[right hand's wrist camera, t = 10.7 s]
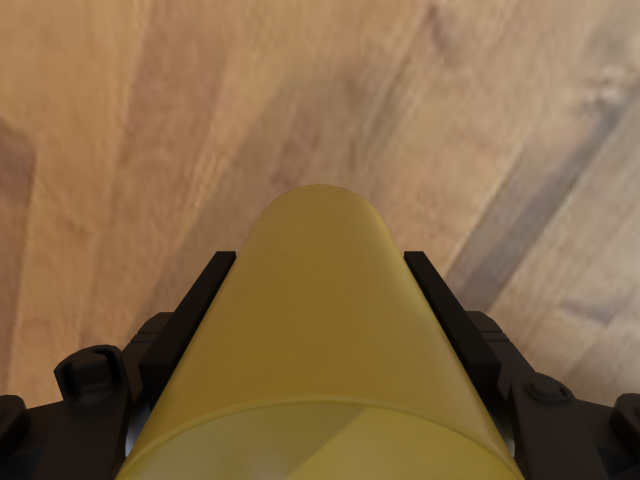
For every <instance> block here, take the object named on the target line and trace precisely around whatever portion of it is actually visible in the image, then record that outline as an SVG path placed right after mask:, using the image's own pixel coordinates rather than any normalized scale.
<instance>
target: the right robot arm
mask: <svg viewBox="0 0 640 480" xmlns="http://www.w3.org/2000/svg"><path fill="white" fill-rule="evenodd" d="M235 259H236V252H235V251H217V252H216V253H215V255H214V256H213V258H212V259H211V260H210V262H209V263H208V265H207V266H206V267H205V269H204V270H203V272H202V273H201V275H200V276H199V277H198V279H197V280H196V282H195V283H194V284H193V286H192V287H191V289H190V290H189V292H188V293H187V294H186V296H185V297H184V299H183V300H182V301H181V303H180V304H179V306H178V307H177V309H176V310H175V311H174V312H160V313H158V314H157V315H155V316H154V317H152V318H151V319H149V320H148V321H146V322H145V324H144V325H143V326H142V327H141V329H140V330H139V331H138V334H136V335H135V336H134V337H133V338H132V340H131V341H130V343H128V345H127V346H126V347H125V348H124V350H123V351H122V352H121V350H120V349H119V348H117V347H116V346H112V345H96V346H92V347H89V348H85V349H82V350H80V351H78V352H76V353H74V354H72V355H70V356H68V357H67V358H66V359H64V360H63V361H61V362H60V363H59V364H58V366H57V367H56V368H55V369H54V374H55V377H56V380H57V383H58V385H59V388H60V391H61V394H62V397H63V401H60V402H56V403H51V404H47V405H43V406H39V407H34V408H30V409H27V408H26V406H25V403H24V401H23V399H21V398H20V397H19V396H17V395H3V396H0V480H115V478H116V476H117V474H118V472H119V471H120V469H121V467H122V465H123V463H124V461H125V460H126V458H127V456H128V454H129V452H130V451H131V449H132V447H133V445H134V443H135V441H136V440H137V438H138V436H139V434H140V432H141V431H142V429H143V427H144V425H145V423H146V421H147V420H148V418H149V416H150V414H151V412H152V410H153V409H154V407H155V405H156V403H157V401H158V400H159V398H160V396H161V394H162V392H163V390H164V389H165V387H166V385H167V383H168V381H169V380H170V378H171V376H172V374H173V372H174V370H175V369H176V367H177V365H178V363H179V361H180V360H181V358H182V356H183V354H184V352H185V350H186V349H187V347H188V345H189V343H190V341H191V339H192V338H193V336H194V334H195V332H196V330H197V329H198V327H199V325H200V323H201V321H202V319H203V318H204V316H205V314H206V312H207V310H208V309H209V307H210V305H211V303H212V301H213V299H214V298H215V296H216V294H217V292H218V290H219V289H220V287H221V285H222V283H223V281H224V279H225V278H226V276H227V274H228V272H229V270H230V268H231V267H232V265H233V263H234V261H235ZM404 260H405V261H406V263H407V265H408V267H409V269H410V271H411V272H412V274H413V276H414V278H415V280H416V282H417V283H418V285H419V287H420V289H421V291H422V293H423V294H424V296H425V298H426V300H427V302H428V303H429V305H430V307H431V309H432V311H433V313H434V314H435V316H436V318H437V320H438V322H439V324H440V325H441V327H442V329H443V331H444V333H445V334H446V336H447V338H448V340H449V342H450V344H451V345H452V347H453V349H454V351H455V353H456V355H457V356H458V358H459V360H460V362H461V364H462V365H463V367H464V369H465V371H466V373H467V375H468V376H469V378H470V380H471V382H472V384H473V386H474V387H475V389H476V391H477V393H478V395H479V397H480V398H481V400H482V402H483V404H484V406H485V407H486V409H487V411H488V413H489V415H490V417H491V418H492V420H493V422H494V424H495V426H496V428H497V429H498V431H499V433H500V435H501V437H502V438H503V440H504V442H505V444H506V446H507V448H508V449H509V451H510V453H511V455H512V457H513V459H514V460H515V462H516V464H517V466H518V468H519V470H520V471H521V473H522V475H523V477H524V479H525V480H640V394H635V393H630V394H622V395H621V396H620V397H618V398H617V400H616V403H615V405H614V407H613V408H612V407H608V406H604V405H599V404H595V403H591V402H586V401H582V400H579V399H576V398H575V396H574V395H573V394H572V392H571V391H570V390H569V389H568V388H567V387H566V386H564V385H563V384H562V383H561V382H559V381H557V380H555V379H553V378H551V377H550V376H547V375H543V374H540V373H537V372H535V371H534V369H533V368H532V367H531V366H530V364H529V363H528V362H527V361H526V360H525V358H524V357H523V356H522V355H521V353H520V352H519V351H518V350H517V348H516V347H515V346H514V345H513V343H512V342H510V340H509V338H508V337H507V336H506V335H505V334H504V333H503V332H502V330H501V329H500V327H499V326H498V325H497V324H496V322H495V321H494V320H493V319H491V318H490V317H488V316H487V315H485V314H484V313H482V312H481V311H465V310H464V309H463V308H462V306H461V305H460V303H459V302H458V300H457V299H456V298H455V296H454V295H453V293H452V292H451V290H450V289H449V288H448V286H447V285H446V283H445V282H444V281H443V279H442V278H441V276H440V275H439V273H438V272H437V271H436V269H435V268H434V266H433V265H432V264H431V262H430V261H429V259H428V258H427V256H426V255H425V254H424V252H423V251H404Z"/></svg>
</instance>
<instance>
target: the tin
mask: <svg viewBox="0 0 640 480" xmlns="http://www.w3.org/2000/svg"><path fill="white" fill-rule="evenodd" d="M115 480H525V479H524V477H523V475H522V473H521V471H520V470H519V468H518V466H517V464H516V462H515V460H514V459H513V457H512V455H511V453H510V451H509V449H508V448H507V446H506V444H505V442H504V440H503V438H502V437H501V435H500V433H499V431H498V429H497V428H496V426H495V424H494V422H493V420H492V418H491V417H490V415H489V413H488V411H487V409H486V407H485V406H484V404H483V402H482V400H481V398H480V397H479V395H478V393H477V391H476V389H475V387H474V386H473V384H472V382H471V380H470V378H469V376H468V375H467V373H466V371H465V369H464V367H463V365H462V364H461V362H460V360H459V358H458V356H457V355H456V353H455V351H454V349H453V347H452V345H451V344H450V342H449V340H448V338H447V336H446V334H445V333H444V331H443V329H442V327H441V325H440V324H439V322H438V320H437V318H436V316H435V314H434V313H433V311H432V309H431V307H430V305H429V303H428V302H427V300H426V298H425V296H424V294H423V293H422V291H421V289H420V287H419V285H418V283H417V282H416V280H415V278H414V276H413V274H412V272H411V271H410V269H409V267H408V265H407V263H406V261H405V260H404V258H403V256H402V254H401V252H400V251H399V249H398V247H397V245H396V243H395V241H394V240H393V238H392V236H391V234H390V232H389V230H388V229H387V227H386V225H385V223H384V221H383V220H382V218H381V216H380V215H379V213H378V212H377V211H376V210H375V209H374V207H373V206H372V205H371V204H370V203H369V202H367V201H366V200H365V199H364V198H362V197H361V196H359V195H358V194H356V193H354V192H352V191H349V190H347V189H344V188H341V187H338V186H332V185H321V184H317V185H307V186H303V187H298V188H296V189H293V190H290V191H288V192H286V193H284V194H282V195H281V196H279V197H278V198H276V199H275V200H273V201H272V202H271V203H270V204H269V205H268V206H267V207H266V208H265V209H264V211H263V212H262V213H261V215H260V216H259V218H258V220H257V221H256V223H255V225H254V227H253V228H252V230H251V232H250V234H249V236H248V238H247V239H246V241H245V243H244V245H243V247H242V248H241V250H240V252H239V254H238V256H237V258H236V259H235V261H234V263H233V265H232V267H231V268H230V270H229V272H228V274H227V276H226V278H225V279H224V281H223V283H222V285H221V287H220V289H219V290H218V292H217V294H216V296H215V298H214V299H213V301H212V303H211V305H210V307H209V309H208V310H207V312H206V314H205V316H204V318H203V319H202V321H201V323H200V325H199V327H198V329H197V330H196V332H195V334H194V336H193V338H192V339H191V341H190V343H189V345H188V347H187V349H186V350H185V352H184V354H183V356H182V358H181V360H180V361H179V363H178V365H177V367H176V369H175V370H174V372H173V374H172V376H171V378H170V380H169V381H168V383H167V385H166V387H165V389H164V390H163V392H162V394H161V396H160V398H159V400H158V401H157V403H156V405H155V407H154V409H153V410H152V412H151V414H150V416H149V418H148V420H147V421H146V423H145V425H144V427H143V429H142V431H141V432H140V434H139V436H138V438H137V440H136V441H135V443H134V445H133V447H132V449H131V451H130V452H129V454H128V456H127V458H126V460H125V461H124V463H123V465H122V467H121V469H120V471H119V472H118V474H117V476H116V478H115Z"/></svg>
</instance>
